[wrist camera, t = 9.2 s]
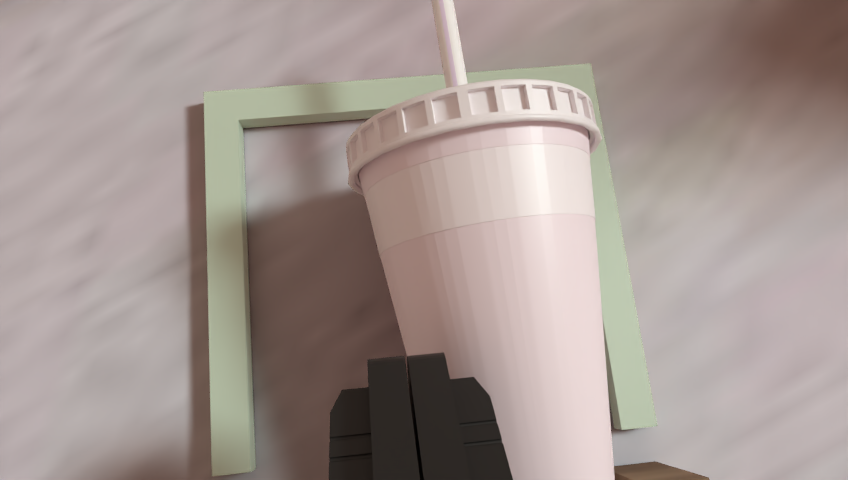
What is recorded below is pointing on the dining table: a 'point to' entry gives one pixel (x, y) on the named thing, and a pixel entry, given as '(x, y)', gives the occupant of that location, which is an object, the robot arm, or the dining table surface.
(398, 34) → the dining table surface
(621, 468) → the walnut channel
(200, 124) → the dining table surface
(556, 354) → the smoothie
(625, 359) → the frame
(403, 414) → the robot arm
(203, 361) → the dining table surface
